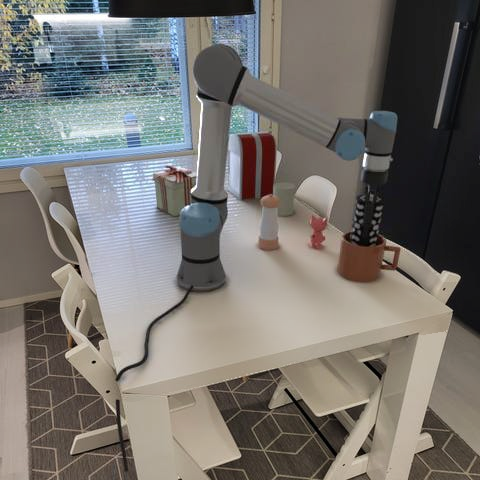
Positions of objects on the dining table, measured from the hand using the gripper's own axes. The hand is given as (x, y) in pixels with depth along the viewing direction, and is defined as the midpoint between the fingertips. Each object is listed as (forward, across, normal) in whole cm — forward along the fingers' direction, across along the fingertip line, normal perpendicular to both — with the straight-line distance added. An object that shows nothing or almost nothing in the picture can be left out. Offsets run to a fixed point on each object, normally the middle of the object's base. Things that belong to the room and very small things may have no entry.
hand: (363, 240), depth 154 cm
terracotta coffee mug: (+11, 0, -2) cm, 11 cm away
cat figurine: (+12, +17, +16) cm, 26 cm away
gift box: (+12, +40, +78) cm, 88 cm away
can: (+12, +50, +34) cm, 61 cm away
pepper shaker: (+12, +13, +33) cm, 37 cm away
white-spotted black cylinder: (+7, 0, 0) cm, 7 cm away
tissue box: (+12, +72, +53) cm, 90 cm away
